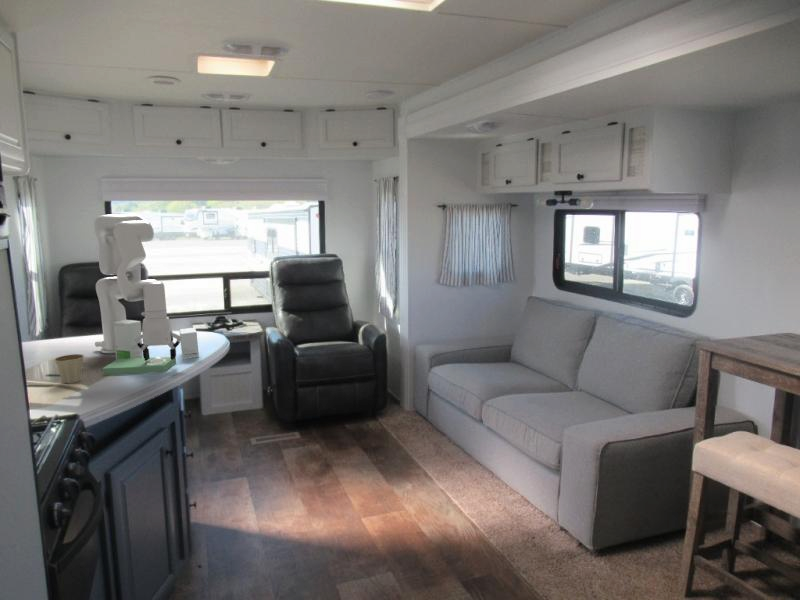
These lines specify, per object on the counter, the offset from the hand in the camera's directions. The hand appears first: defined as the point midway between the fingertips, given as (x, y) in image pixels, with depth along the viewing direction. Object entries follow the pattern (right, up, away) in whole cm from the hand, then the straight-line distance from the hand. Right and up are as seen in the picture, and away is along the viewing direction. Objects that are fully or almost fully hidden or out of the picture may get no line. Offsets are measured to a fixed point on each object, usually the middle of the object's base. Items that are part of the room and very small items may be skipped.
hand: (160, 359), depth 232 cm
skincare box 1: (-18, -2, +16) cm, 24 cm away
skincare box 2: (+5, 0, +20) cm, 20 cm away
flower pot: (-26, -7, -14) cm, 30 cm away
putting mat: (-7, -4, 0) cm, 8 cm away
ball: (-1, -1, 0) cm, 2 cm away
